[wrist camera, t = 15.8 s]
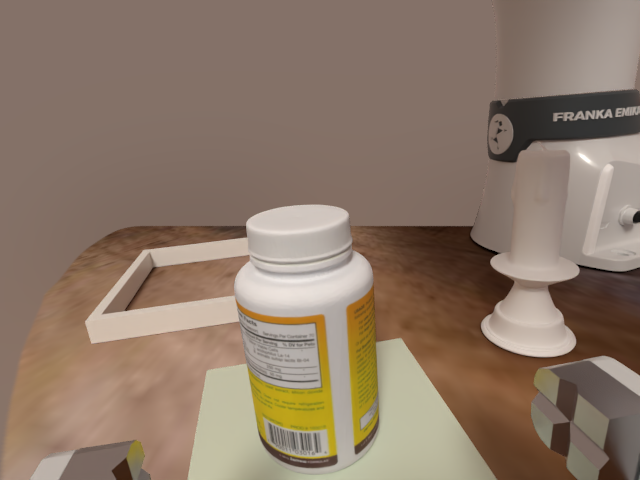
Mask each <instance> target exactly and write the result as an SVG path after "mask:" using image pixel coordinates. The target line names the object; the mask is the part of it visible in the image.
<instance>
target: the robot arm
mask: <svg viewBox="0 0 640 480" xmlns="http://www.w3.org/2000/svg"><path fill="white" fill-rule="evenodd" d="M491 1H492V5H493V9H494V15H495V23H496V87H495V100H497V101H492V102H491V103H490V110H489V120H488V137H487V141H488V155H489V163H488V170H487V176H486V182H485V186H484V192H483V196H482V200H481V204H480V207H479V211H478V214H477V217H476V220H475V223H474V226H473V228H472V231H471V233H470V235H471V238H472V239H473V240H474V241H475V242H476V243H478V244H479V245H481V246H483V247H485V248H488V249H490V250H493V251H496V252H499V253H505V252H510V251H511V239H512V227H513V215H514V205H513V202H512V199H511V189H512V185H513V182H514V178H515V173H516V164H517V159H518V155H519V153H520V152H521V151H522V150H530V151H538V150H542V148H541V146H540V145H539V144H538V143H537V142H538V141H539V142H541V143H542V144H543V145H544V147H545V148H546V149H548V150H566V151H568V153H569V154H570V170H569V180H568V196H567V200H566V205H565V213H564V220H563V228H562V236H561V244H560V252H559V256H560V257H563V258H565V259H568V260H570V261H572V262H573V263H575V264H578V265H583V266H588V267H593V268H598V269H604V270H610V271H628V270H632V269H635V268H638V267H640V94H639V91H638V90H623V89H634V86H635V79H636V74H637V68H638V61H639V55H640V0H491ZM611 90H623V91H611ZM598 91H611V92H598ZM585 92H597V93H585ZM574 93H584V94H574ZM560 94H571V95H560ZM547 95H558V96H547ZM536 96H547V97H536ZM523 97H533V98H523ZM511 98H522V99H511ZM498 99H509V100H498ZM534 386H535V387H536V388H537V390H538V391H539V393H538V394H537V396H536V397H535V398H534V400H533V401H532V405H531V417H532V421H533V424H534V427H535V430H536V431H537V433H538V435H539V436H540V438H541V440H542V441H543V442H544V443H545V444H546V445H547V446H548V448H549V449H551V450H552V451H554V452H556V453H558V454H560V455H562V456H564V457H565V460H566V467H567V469H568V470H569V471H570V472H571V473H572V474H573V475H574V476H575V477H576V479H577V480H640V376H639V375H638V374H636V373H635V372H633V371H632V370H630V369H629V368H627V367H626V366H624V365H623V364H621V363H620V362H618V361H616V360H615V359H613V358H610V357H606V356H600V357H595V358H590V359H585V360H582V361H577V362H571V363H566V364H561V365H555V366H550V367H544V368H539V369H538V371H537V372H536V374H535V379H534ZM144 457H145V455H144V451H143V448H142V445H141V442H139V441H137V440H133V441H126V442H120V443H113V444H106V445H100V446H93V447H87V448H80V449H79V450H71V451H65V452H58V453H51V454H49V455H48V456H47V457H45V458H44V459H42V461H41V462H40V464H39V465H38V467H37V468H36V470H35V472H34V473H33V475H32V476H31V478H30V479H29V480H151V477H150V474H148V473H147V472H146V471H144V470H143V469H141V467H142V464H143V460H144Z"/></svg>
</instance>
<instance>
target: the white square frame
mask: <svg viewBox="0 0 640 480" xmlns="http://www.w3.org/2000/svg"><path fill="white" fill-rule="evenodd" d="M246 255H250V253H249V252H248V238H240V239H232V240H224V241H216V242H207V243H199V244H191V245H183V246H175V247H167V248H158V249H150V250H143V252H142V253H141V254H140V255H139V256H138V258H137V259H136V260H135V261H134V263H133V264H132V265H131V266H130V267H129V269H128V270H127V271H126V272H125V274H124V275H123V276H122V277H121V278H120V280H119V281H118V282H117V283H116V285H115V286H114V287H113V288H112V289H111V291H110V292H109V293H108V294H107V295H106V297H105V298H104V299H103V300H102V302H101V303H100V304H99V305H98V306H97V308H96V309H95V310H94V311H93V313H92V314H91V315H90V316H89V317H88V319H87V320H86V321H85V323H86V327H87V330H88V333H89V337H90V340H91V343H92V344H94V343H101V342H108V341H114V340H121V339H127V338H134V337H141V336H147V335H154V334H161V333H167V332H174V331H180V330H187V329H194V328H200V327H207V326H214V325H220V324H227V323H233V322H240V321H239V317H238V310H237V305H236V300H235V296H229V297H222V298H214V299H207V300H200V301H193V302H186V303H179V304H172V305H165V306H158V307H151V308H144V309H137V310H130V311H124V310H125V309H126V307H127V306H128V304H129V303H130V301H131V300H132V298H133V297H134V295H135V294H136V292H137V291H138V289H139V288H140V286H141V285H142V283H143V282H144V280H145V279H146V277H147V276H148V274H149V273H150V271H151V270H152V268H153V267H160V266H168V265H176V264H184V263H191V262H199V261H207V260H215V259H222V258H230V257H238V256H246Z"/></svg>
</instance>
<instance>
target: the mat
mask: <svg viewBox="0 0 640 480" xmlns="http://www.w3.org/2000/svg"><path fill="white" fill-rule="evenodd" d="M376 354H377V375H378V398H379V428H378V433H377V436H376V438H375V440H374V442H373V444H372V446H371V447H370V449H369V450H368V451H367V452H366V454H365V455H364V456H363V457H362V458H360V459H359V460H358V461H356V462H355V463H353V464H352V465H350V466H348V467H346V468H344V469H342V470H339V471H336V472H333V473H328V474H319V475H309V474H301V473H297V472H294V471H291V470H288V469H286V468H284V467H282V466H281V465H279V464H278V463H276V462H275V461H274V460H273V459H272V458H271V457H270V456H269V455H268V454H267V452H266V451H265V449H264V447H263V445H262V443H261V440H260V437H259V433H258V428H257V422H256V416H255V410H254V404H253V398H252V392H251V386H250V380H249V374H248V368H247V364H242V365H236V366H230V367H224V368H218V369H212V370H207V373H206V379H205V384H204V390H203V395H202V401H201V407H200V412H199V418H198V424H197V429H196V435H195V441H194V446H193V452H192V457H191V463H190V469H189V474H188V480H497V479H496V477H495V476H494V474H493V473H492V471H491V470H490V468H489V467H488V465H487V464H486V462H485V461H484V459H483V458H482V456H481V455H480V454H479V452H478V451H477V449H476V448H475V446H474V445H473V443H472V442H471V440H470V439H469V437H468V436H467V434H466V433H465V432H464V430H463V429H462V427H461V426H460V424H459V423H458V421H457V420H456V418H455V417H454V415H453V414H452V412H451V411H450V409H449V408H448V407H447V405H446V404H445V402H444V401H443V399H442V398H441V396H440V395H439V393H438V392H437V390H436V389H435V387H434V386H433V384H432V383H431V382H430V380H429V379H428V377H427V376H426V374H425V373H424V371H423V370H422V368H421V367H420V365H419V364H418V362H417V361H416V359H415V358H414V357H413V355H412V354H411V352H410V351H409V349H408V348H407V346H406V345H405V343H404V342H403V340H402V339H401V338H398V339H392V340H386V341H380V342H376Z"/></svg>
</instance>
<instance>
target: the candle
mask: <svg viewBox="0 0 640 480" xmlns="http://www.w3.org/2000/svg"><path fill="white" fill-rule="evenodd" d="M537 143H538V144H539V145H540V146H541V148H542V150H538V151H530V150H522V151H521V152H520V153H519V155H518V159H517V164H516V173H515V178H514V182H513V185H512V189H511V199H512V202H513V205H514V215H513V227H512V239H511V251H510V252H505V253H501V254H498V255H496V256H494V257H493V258H492V259H491V261H490V263H491V266H492V267H493V268H494V269H495V270H497V271H498V272H500V273H501V274H503V275H505V276H507V277H509V278H510V279H512V280H514V285H513V287H512V289H511V290H510V292H509V293H508V295H507V296H506V298H505V299H504V300H502V301H500V302H498V303H497V304H496V306H495V308H494V312H493V313H492V314H490V315H488V316H486V317H485V318H484V319H483V321H482V323H481V329H482V332H483V334H484V335H485V336H486V337H487V338H488V339H489V340H490V341H491V342H492V343H494V344H495V345H497V346H499V347H501V348H503V349H505V350H508V351H510V352H513V353H517V354H520V355H525V356H531V357H556V356H561V355H564V354H566V353H568V352H570V351H571V350H572V349H573V348H574V347H575V345H576V338H575V335H574V334H573V332H572V331H571V330H570V329H569V328H568V327H567V326H565V325H564V318H563V315H562V313H561V312H560V311H559V310H558V309H557V308H555V306H554V304H553V301H552V299H551V296H550V293H549V290H548V285H551V284H554V283H558V282H562V281H566V280H569V279H572V278H574V277H576V276H577V275H578V274H579V272H580V270H579V267H578V266H577V265H576V264H575V263H573V262H572V261H570V260H568V259H565V258H563V257H560V256H559V252H560V244H561V236H562V228H563V220H564V213H565V205H566V200H567V196H568V180H569V170H570V154H569V153H568V151H566V150H548V149H546V148H545V147H544V145H543V144H542V143H541V142H539V141H538V142H537Z"/></svg>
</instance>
